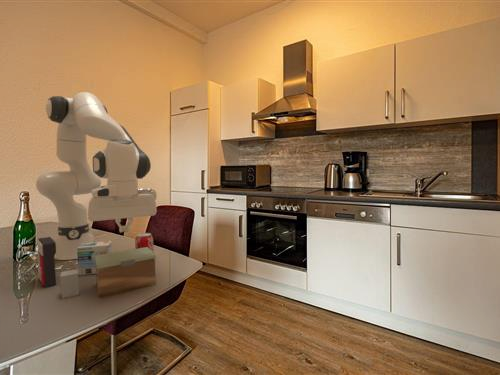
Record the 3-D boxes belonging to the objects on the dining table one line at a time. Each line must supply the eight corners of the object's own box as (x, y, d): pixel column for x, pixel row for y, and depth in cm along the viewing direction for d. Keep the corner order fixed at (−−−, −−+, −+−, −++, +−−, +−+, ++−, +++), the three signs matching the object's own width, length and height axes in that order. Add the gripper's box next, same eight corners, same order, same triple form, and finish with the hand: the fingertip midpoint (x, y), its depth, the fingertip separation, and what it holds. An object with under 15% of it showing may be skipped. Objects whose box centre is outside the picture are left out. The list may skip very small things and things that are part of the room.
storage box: (96, 283, 94) (95, 258, 93) (148, 272, 103) (147, 249, 102) (99, 297, 83) (97, 268, 83) (155, 283, 93) (154, 258, 92)
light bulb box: (77, 275, 101) (76, 247, 100) (83, 269, 107) (82, 242, 107) (109, 272, 104) (107, 245, 103) (113, 266, 110) (111, 240, 110)
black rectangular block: (38, 279, 98) (35, 238, 97) (52, 275, 101) (50, 236, 100) (43, 288, 91) (39, 244, 89) (58, 284, 94) (55, 241, 92)
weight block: (62, 293, 87) (61, 272, 86) (79, 289, 89) (77, 269, 89) (61, 298, 83) (60, 276, 83) (79, 294, 86) (77, 273, 85)
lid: (94, 260, 93) (94, 255, 93) (147, 251, 102) (147, 246, 102) (97, 271, 82) (96, 266, 82) (156, 260, 91) (156, 255, 91)
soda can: (147, 265, 110) (146, 236, 109) (132, 264, 112) (131, 236, 111) (157, 260, 117) (156, 232, 116) (142, 259, 119) (141, 232, 118)
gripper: (153, 187, 96) (155, 226, 97) (86, 190, 85) (88, 233, 86) (158, 188, 90) (159, 229, 91) (87, 192, 79) (89, 238, 80)
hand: (124, 231), depth 88 cm, fingers closed
